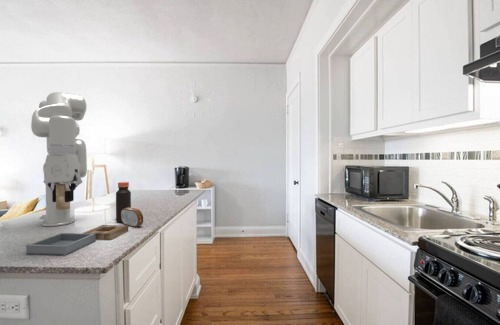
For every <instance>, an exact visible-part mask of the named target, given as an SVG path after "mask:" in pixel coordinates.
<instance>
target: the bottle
mask: <svg viewBox="0 0 500 325" xmlns="http://www.w3.org/2000/svg"><path fill="white" fill-rule="evenodd" d="M129 187H130V184H129V182H128V181H121V182H117V188H118V190H117V191H116V192H115V222H116V223H117V224H124V223H123V222H122V220H121V211H122V209H124V208H127V207H130V208H132V192H131V190H130V189H129Z"/></svg>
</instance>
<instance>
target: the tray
mask: <svg viewBox="0 0 500 325" xmlns="http://www.w3.org/2000/svg"><path fill="white" fill-rule="evenodd" d="M96 241H97V240H96V234H89V233H84V232H81V233H80V232H79V233H78V232H77V233H76V232H60V233H57V234H55V235H51V236H48V237H47V238H43V239H41V240H37V241H35V242H32V243H29V244H27V245H25V247H26V248H25V252H26V253H25V254H26V255H37V256H40V255H41V256H42V255H43V256H68V255H70V254H72V253H74V252H77V251H78V250H80V249H83V248H85V247H86V246H87V247H88V246H89V245H91V244H93V243H95V242H96Z"/></svg>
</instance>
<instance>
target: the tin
mask: <svg viewBox="0 0 500 325" xmlns="http://www.w3.org/2000/svg"><path fill="white" fill-rule="evenodd" d="M121 220H122V222H123V223H122V224H124V225H128V227H133V228H137V227H141V226H142V225H143V223H144V215H143V213H142V211H141V210H140V209H139V208H134V207H131V208H130V207H127V208H124V209H122V211H121Z"/></svg>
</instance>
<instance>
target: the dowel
mask: <svg viewBox="0 0 500 325" xmlns="http://www.w3.org/2000/svg"><path fill="white" fill-rule="evenodd" d="M65 191H67V190H66V185H65V183H64V184H56V210H66V209H70V210H71V202H65Z"/></svg>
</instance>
